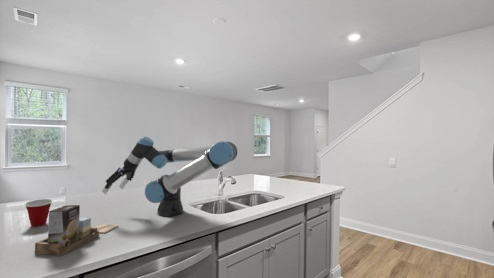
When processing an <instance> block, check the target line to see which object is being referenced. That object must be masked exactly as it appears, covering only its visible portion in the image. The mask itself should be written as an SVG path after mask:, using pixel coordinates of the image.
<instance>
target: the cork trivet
mask: <svg viewBox="0 0 494 278" xmlns="http://www.w3.org/2000/svg"><path fill="white" fill-rule="evenodd" d="M93 227H94V228H97V231H99V234H107V233H108V232H110V231H112V230H114V229H116V228H118V227H119V225H116V224H103V223H100V224H98V225H96V226H93Z"/></svg>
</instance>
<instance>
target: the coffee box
mask: <svg viewBox="0 0 494 278" xmlns="http://www.w3.org/2000/svg"><path fill="white" fill-rule="evenodd" d="M80 207H81V206H80V204H79V205H77V204H75V205H74V204H73V205H72V204H71V205H63V206H60V207H57V208H55V209H52V210H49V213H48V231H47V232H48V233H47V234H48V235H47V236H48V237H47V238H48V243H55V244H62V248H63V247H65V246H67V245H69V244H71V243H74V242H76V241H78V240H79V217H80V210H81V209H80Z"/></svg>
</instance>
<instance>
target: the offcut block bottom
mask: <svg viewBox="0 0 494 278" xmlns="http://www.w3.org/2000/svg"><path fill="white" fill-rule="evenodd" d="M90 233H91V231H90V232H88V233H86V234H83V235H80V234H79V240H80V239H82V238H84V237H86V236H88V235H90Z"/></svg>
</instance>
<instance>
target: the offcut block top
mask: <svg viewBox="0 0 494 278" xmlns="http://www.w3.org/2000/svg"><path fill="white" fill-rule="evenodd" d="M91 221H92V218H91V217H82V216H79V228H84V227H86V226H88V225H91V223H92V222H91ZM91 226H92V225H91Z"/></svg>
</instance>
